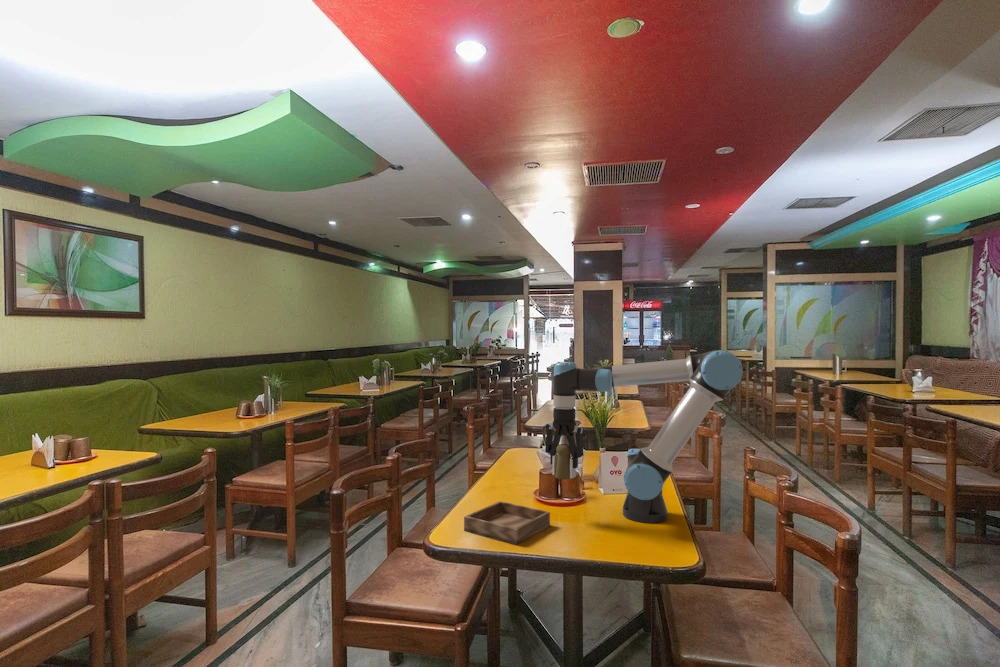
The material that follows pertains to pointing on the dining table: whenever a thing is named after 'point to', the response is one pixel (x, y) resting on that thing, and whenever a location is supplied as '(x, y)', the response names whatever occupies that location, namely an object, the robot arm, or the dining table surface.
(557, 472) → the olive pepper mill
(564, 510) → the dining table surface
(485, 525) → the tray
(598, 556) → the dining table surface
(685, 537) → the dining table surface
